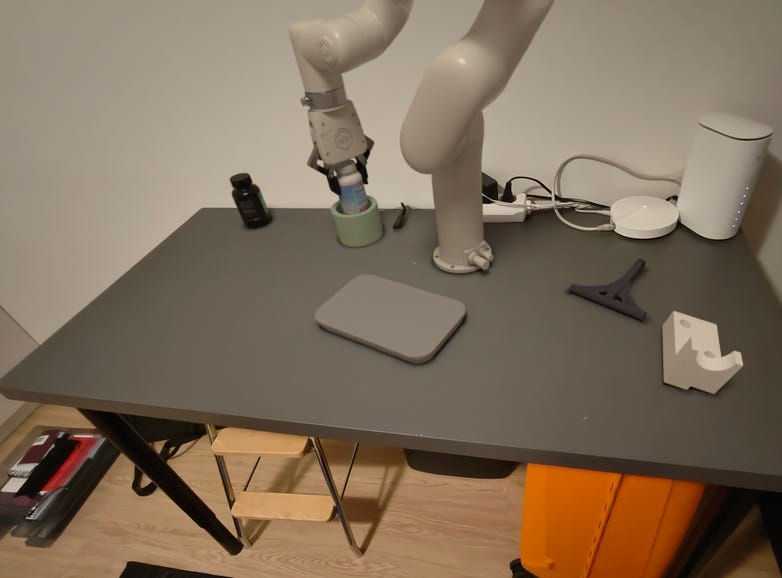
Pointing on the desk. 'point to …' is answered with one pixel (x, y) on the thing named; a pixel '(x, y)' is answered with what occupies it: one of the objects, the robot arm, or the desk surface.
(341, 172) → the pill bottle
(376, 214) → the green cylindrical sleeve
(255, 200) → the supplement bottle
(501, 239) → the desk surface
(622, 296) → the bracket
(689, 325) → the bracket
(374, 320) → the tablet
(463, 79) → the robot arm
